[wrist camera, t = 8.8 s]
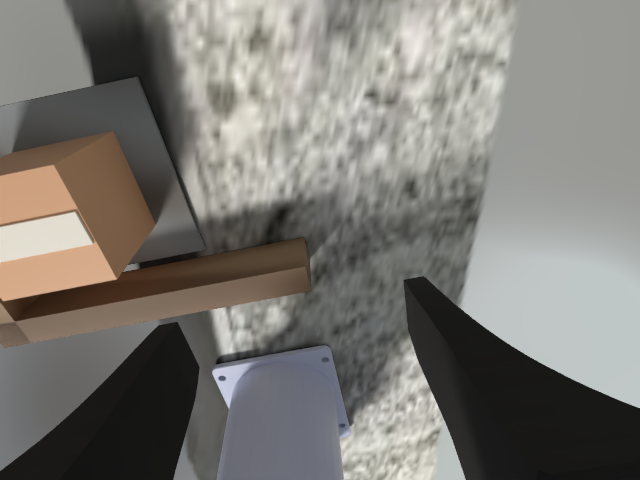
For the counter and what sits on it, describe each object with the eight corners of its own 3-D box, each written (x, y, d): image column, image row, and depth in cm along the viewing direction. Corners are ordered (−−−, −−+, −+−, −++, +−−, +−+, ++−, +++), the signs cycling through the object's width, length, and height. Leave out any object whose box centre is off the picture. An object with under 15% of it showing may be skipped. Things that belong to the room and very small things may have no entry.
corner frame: (309, 259, 22) (311, 290, 19) (38, 311, 23) (4, 348, 20) (242, -18, 15) (231, -28, 13) (-137, 67, 16) (-221, 75, 14)
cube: (113, 131, 18) (51, 165, 13) (156, 225, 20) (116, 280, 16) (11, 152, 18) (-83, 193, 13) (66, 242, 20) (1, 302, 16)
